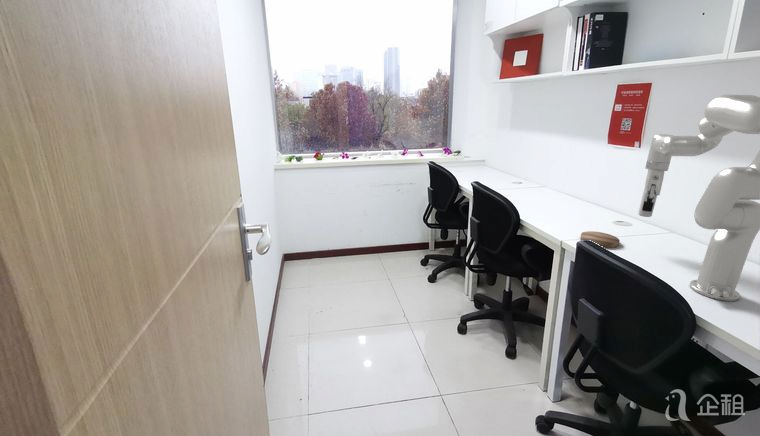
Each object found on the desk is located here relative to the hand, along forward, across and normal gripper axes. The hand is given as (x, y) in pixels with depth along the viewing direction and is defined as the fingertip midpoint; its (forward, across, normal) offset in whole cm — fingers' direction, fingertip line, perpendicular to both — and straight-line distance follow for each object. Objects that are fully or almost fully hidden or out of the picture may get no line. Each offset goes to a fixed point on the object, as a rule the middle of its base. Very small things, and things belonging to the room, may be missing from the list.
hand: (646, 209), depth 154 cm
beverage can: (+3, 0, 0) cm, 3 cm away
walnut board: (+17, -2, +14) cm, 22 cm away
